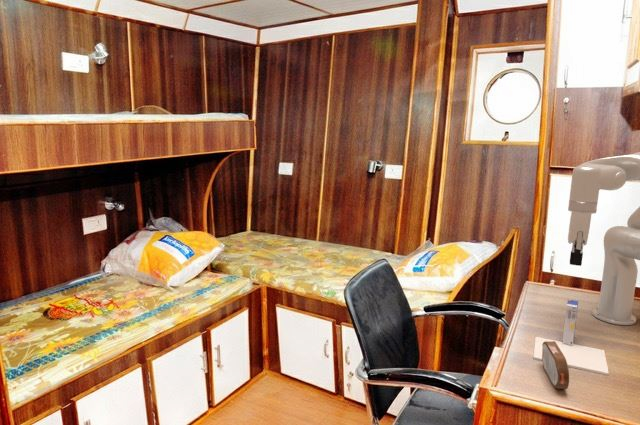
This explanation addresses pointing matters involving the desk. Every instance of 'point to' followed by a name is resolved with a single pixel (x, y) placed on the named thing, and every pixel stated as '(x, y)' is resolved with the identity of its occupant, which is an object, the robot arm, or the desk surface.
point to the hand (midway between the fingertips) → (575, 264)
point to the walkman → (570, 322)
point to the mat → (577, 356)
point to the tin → (555, 365)
